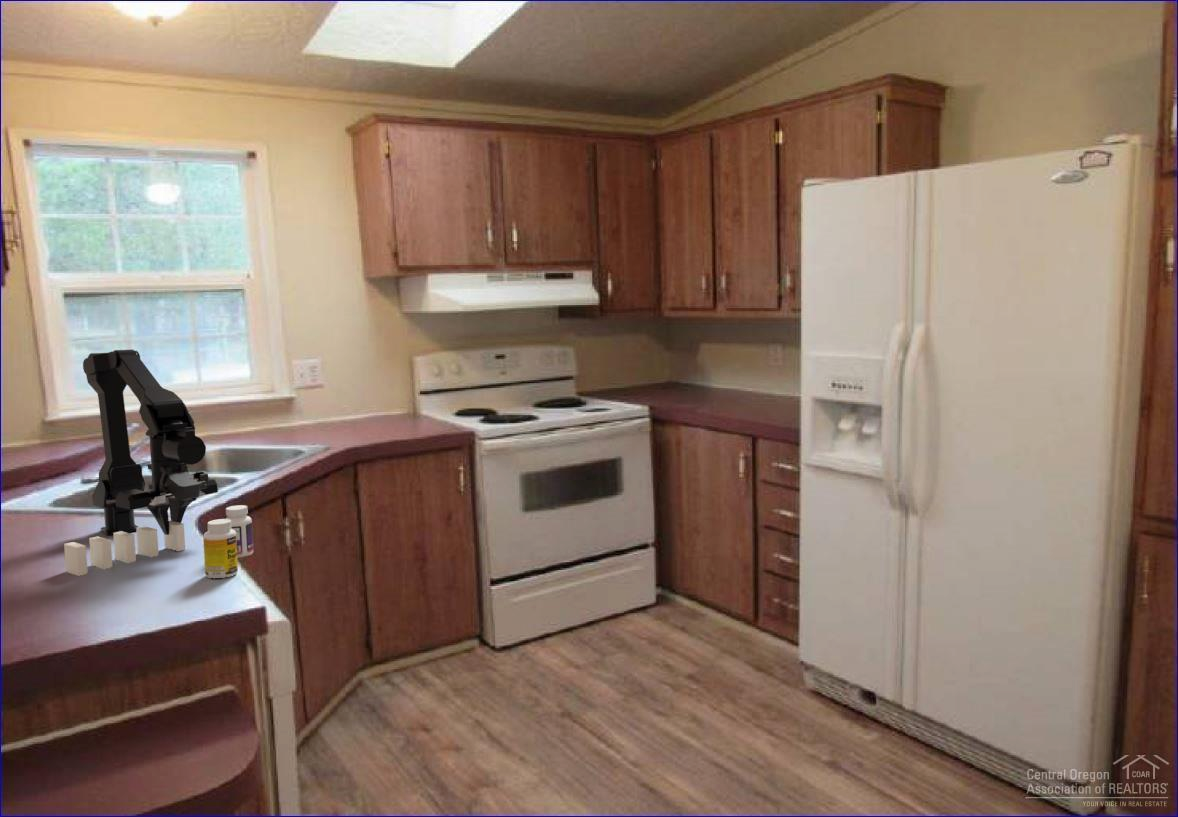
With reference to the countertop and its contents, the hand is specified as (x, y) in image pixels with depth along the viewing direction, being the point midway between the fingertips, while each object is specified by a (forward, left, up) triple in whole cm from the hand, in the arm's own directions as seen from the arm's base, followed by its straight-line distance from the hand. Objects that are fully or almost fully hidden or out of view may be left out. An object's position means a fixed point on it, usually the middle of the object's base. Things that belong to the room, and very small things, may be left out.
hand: (171, 533), depth 167 cm
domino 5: (+1, 0, -3) cm, 3 cm away
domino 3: (+3, -9, -3) cm, 10 cm away
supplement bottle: (+25, +2, -3) cm, 25 cm away
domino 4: (+1, -5, -3) cm, 6 cm away
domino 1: (+5, -18, -3) cm, 19 cm away
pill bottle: (+14, +9, -3) cm, 16 cm away
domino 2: (+4, -14, -3) cm, 14 cm away
